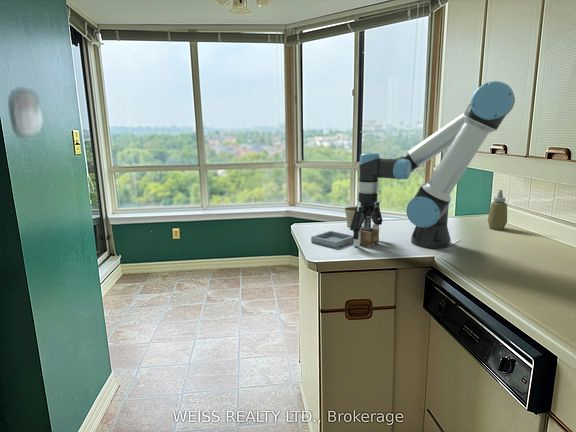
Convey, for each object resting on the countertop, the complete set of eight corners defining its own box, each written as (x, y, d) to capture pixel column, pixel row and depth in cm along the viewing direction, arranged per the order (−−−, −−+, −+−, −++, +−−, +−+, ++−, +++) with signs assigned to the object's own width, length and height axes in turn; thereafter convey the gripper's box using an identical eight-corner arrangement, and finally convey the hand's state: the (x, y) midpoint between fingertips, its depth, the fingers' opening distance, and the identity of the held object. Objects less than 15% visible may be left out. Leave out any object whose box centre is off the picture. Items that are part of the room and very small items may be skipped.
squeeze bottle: (483, 228, 181) (487, 190, 177) (490, 225, 186) (494, 188, 182) (502, 231, 175) (506, 192, 171) (509, 228, 180) (513, 190, 176)
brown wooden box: (381, 244, 158) (382, 229, 157) (372, 247, 153) (373, 233, 152) (364, 240, 164) (364, 226, 163) (354, 243, 159) (354, 229, 158)
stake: (372, 243, 159) (373, 215, 157) (367, 245, 157) (368, 216, 154) (365, 241, 162) (366, 213, 159) (360, 243, 159) (361, 215, 157)
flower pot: (344, 228, 184) (345, 210, 182) (342, 223, 193) (343, 206, 191) (364, 228, 183) (365, 210, 181) (361, 223, 193) (362, 206, 191)
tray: (355, 241, 162) (355, 235, 162) (336, 248, 153) (336, 242, 152) (330, 236, 171) (330, 230, 170) (311, 242, 162) (311, 236, 161)
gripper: (376, 187, 166) (374, 235, 171) (341, 194, 149) (340, 247, 153) (392, 189, 161) (389, 238, 165) (358, 197, 143) (356, 251, 148)
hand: (366, 243), depth 159 cm, fingers open, 13 cm apart
